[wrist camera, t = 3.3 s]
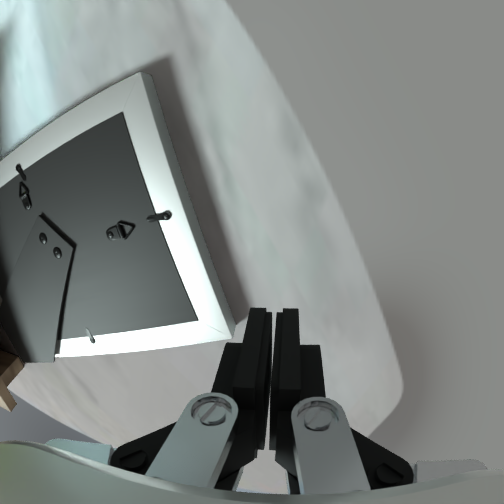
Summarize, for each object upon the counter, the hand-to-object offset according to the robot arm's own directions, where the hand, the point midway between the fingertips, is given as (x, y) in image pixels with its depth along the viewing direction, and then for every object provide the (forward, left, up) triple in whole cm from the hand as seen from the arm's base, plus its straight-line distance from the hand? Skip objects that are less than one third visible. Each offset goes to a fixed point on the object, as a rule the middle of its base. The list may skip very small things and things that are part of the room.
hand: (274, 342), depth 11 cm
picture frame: (-1, -15, -8) cm, 17 cm away
